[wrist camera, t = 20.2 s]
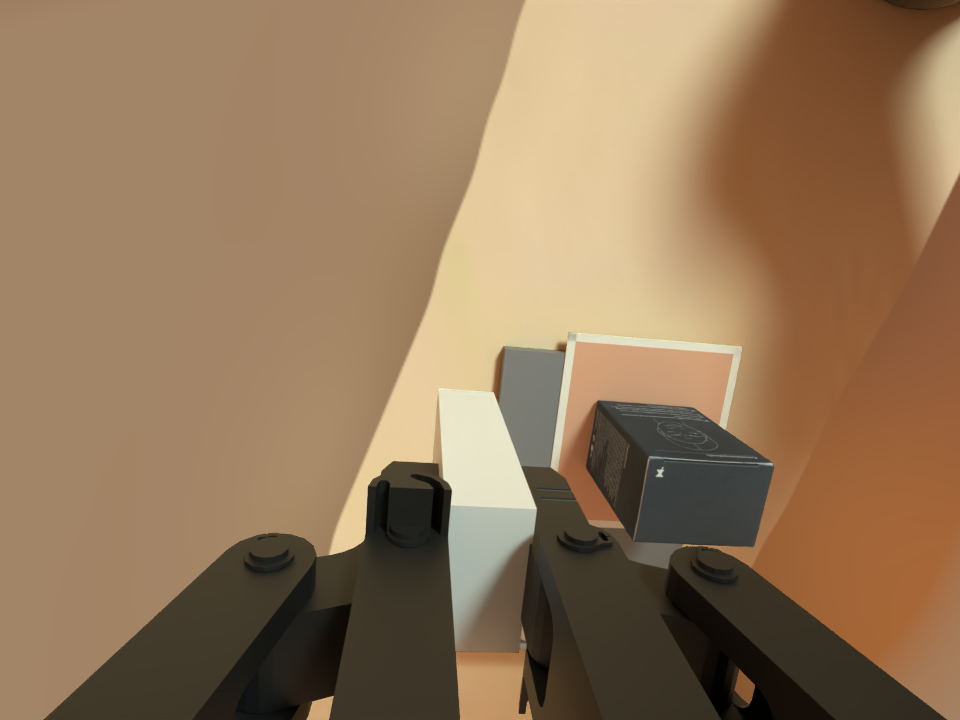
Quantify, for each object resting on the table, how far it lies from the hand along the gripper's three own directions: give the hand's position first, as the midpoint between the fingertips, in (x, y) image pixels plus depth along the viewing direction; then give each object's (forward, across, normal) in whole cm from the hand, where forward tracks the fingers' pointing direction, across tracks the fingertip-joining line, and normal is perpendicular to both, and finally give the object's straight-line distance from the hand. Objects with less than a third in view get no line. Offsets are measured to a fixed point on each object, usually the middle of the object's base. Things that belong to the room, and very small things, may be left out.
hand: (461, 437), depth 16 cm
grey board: (+26, +14, -14) cm, 33 cm away
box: (+25, +16, -9) cm, 31 cm away
